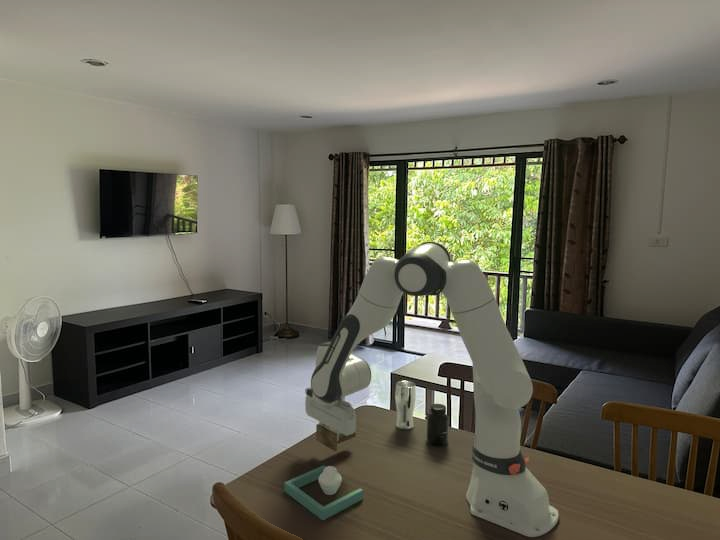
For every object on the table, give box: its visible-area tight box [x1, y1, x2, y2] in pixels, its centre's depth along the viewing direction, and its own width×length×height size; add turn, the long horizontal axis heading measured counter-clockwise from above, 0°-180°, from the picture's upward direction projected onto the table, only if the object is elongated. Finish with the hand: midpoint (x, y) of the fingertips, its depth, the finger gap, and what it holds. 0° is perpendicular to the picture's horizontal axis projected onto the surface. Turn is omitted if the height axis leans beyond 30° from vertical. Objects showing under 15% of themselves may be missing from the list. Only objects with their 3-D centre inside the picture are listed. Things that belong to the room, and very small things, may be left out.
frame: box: [283, 464, 364, 521], centre depth 127 cm, size 16×13×2 cm
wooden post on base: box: [315, 423, 357, 452], centre depth 149 cm, size 9×11×5 cm
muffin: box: [317, 465, 343, 496], centre depth 128 cm, size 6×6×7 cm
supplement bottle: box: [426, 403, 450, 447], centre depth 156 cm, size 7×7×12 cm
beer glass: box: [394, 380, 417, 431], centre depth 168 cm, size 7×7×15 cm
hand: (329, 438), depth 147 cm, fingers closed on wooden post on base, 3 cm apart
